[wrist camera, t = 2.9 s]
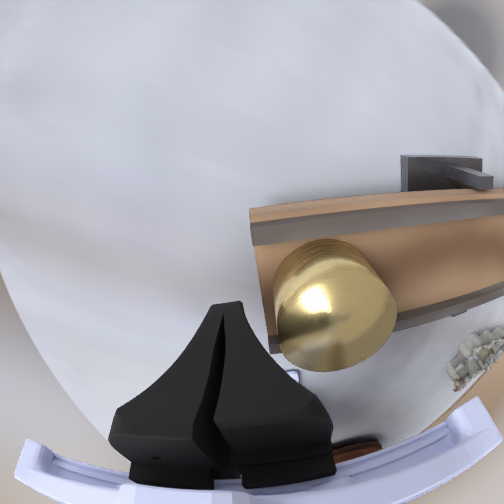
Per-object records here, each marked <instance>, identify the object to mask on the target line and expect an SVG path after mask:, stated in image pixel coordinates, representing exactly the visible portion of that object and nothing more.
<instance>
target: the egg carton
mask: <svg viewBox="0 0 504 504" xmlns="http://www.w3.org/2000/svg"><path fill="white" fill-rule="evenodd" d="M458 349H459V350H460V352H459V354H458V355H457V357H456V358H455V359H453V360H452V361H450V362H449V363H448V364H447V366H446V369H447V372H448V374H449V376H450V377H451V379H452V380H453V381H454V382H455V386H454V388H453V391H460V389H463V388H464V387H465V386H466V382H470V381H471V379H472V378H475V377H476V376H477V375H479V374H480V373H481V372H482V371H483V370H486V371H487V370H488V369H491V364H492V363H493V362H495V363H497V362H498V358H499V357H501V356H502V354H503V352H504V331H503V330H502V328H501V327H500V326H497V327H496V328H495V329H494V330H493V332H492V333H491V332H490V331H489V329H485V330H484V331H483V333H482V334H481V335H480V336H478V335H477V334H476V332H473V333H471V334H470V335H469V337H468V338H467V339H466V340H464V341H463V342H462V343H461V344H460V345H459V347H458ZM474 354H476V355H477V356H478V357H479V360H478V361H476V360H475V359H472V360H470V361H469V362H468V359H467V358H468V357H469V356H472V357H473V356H474ZM467 362H468V363H467Z"/></svg>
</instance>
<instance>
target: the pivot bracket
mask: <svg viewBox="0 0 504 504" xmlns="http://www.w3.org/2000/svg"><path fill="white" fill-rule="evenodd" d="M449 189H478V190H484V189H493V176H491V175H488V174H485V173H483V172H482V159H481V158H478V157H469V156H445V155H401V192H412V191H429V190H449ZM466 311H467V310H465V311H462V312H459V313H456V314H453V315H451V316H452V317H454V316H457V315H459V314H462V313H464V312H466Z"/></svg>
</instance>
